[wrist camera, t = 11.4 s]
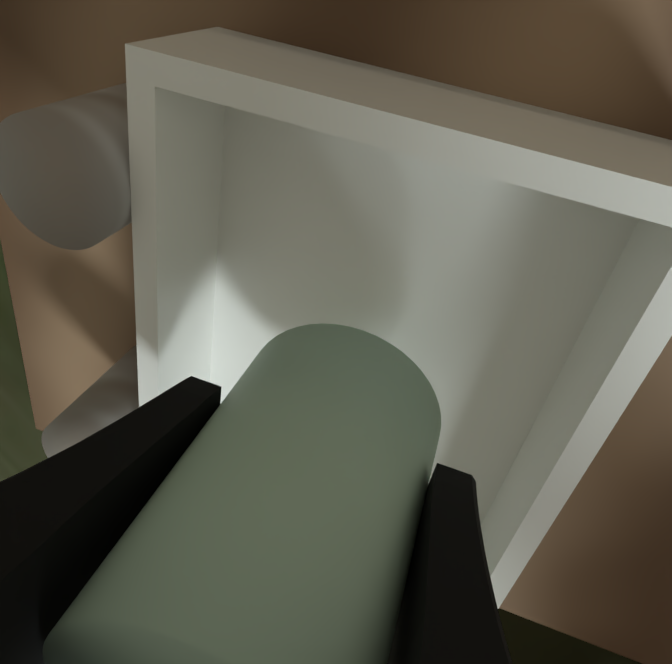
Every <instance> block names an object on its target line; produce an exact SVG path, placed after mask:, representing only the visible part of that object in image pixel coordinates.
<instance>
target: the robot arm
mask: <svg viewBox="0 0 672 664" xmlns="http://www.w3.org/2000/svg"><path fill="white" fill-rule="evenodd" d="M220 401H221V386H218V385H216V384H213V383H210V382H207V381H204V380H201V379H199V378H196V377H193V376H190V377H188V378H186V379H185V380H183V381H181V382H180V383H178V384H176V385H175V386H173V387H171V388H170V389H168V390H166V391H165V392H163V393H162V394H160V395H158V396H157V397H155V398H153V399H152V400H150V401H148V402H147V403H145V404H144V405H142V406H140V407H139V408H137V409H135V410H134V411H132V412H130V413H129V414H127V415H125V416H124V417H122V418H120V419H118V420H117V421H115V422H113V423H111V424H110V425H108V426H106V427H104V428H103V429H101V430H99V431H97V432H96V433H94V434H92V435H90V436H89V437H87V438H85V439H83V440H82V441H80V442H78V443H76V444H74V445H72V446H71V447H69V448H67V449H65V450H63V451H61V452H59V453H57V454H55V455H53V456H51V457H49V458H47V459H45V460H44V461H42V462H40V463H38V464H36V465H34V466H32V467H30V468H28V469H26V470H24V471H22V472H20V473H18V474H16V475H14V476H12V477H9V478H7V479H5V480H3V481H1V482H0V664H44V661H43V651H42V650H43V645H44V641H45V640H46V638H47V636H48V634H49V633H50V632H51V630H52V629H53V628H54V626H55V625H56V624H57V622H58V621H59V620H60V618H61V617H62V616H63V614H64V613H65V612H66V610H67V609H68V608H69V606H70V605H71V604H72V602H73V601H74V600H75V598H76V597H77V596H78V594H79V593H80V592H81V590H82V589H83V588H84V586H85V585H86V584H87V582H88V581H89V579H90V578H91V577H92V575H93V574H94V573H95V571H96V570H97V569H98V567H99V566H100V565H101V563H102V562H103V561H104V559H105V558H106V557H107V555H108V554H109V553H110V551H111V550H112V549H113V547H114V546H115V545H116V543H117V542H118V541H119V539H120V538H121V537H122V535H123V534H124V533H125V531H126V530H127V529H128V527H129V526H130V525H131V523H132V522H133V521H134V519H135V518H136V517H137V515H138V514H139V513H140V511H141V510H142V509H143V507H144V506H145V505H146V503H147V502H148V501H149V499H150V498H151V496H152V495H153V494H154V492H155V491H156V490H157V488H158V487H159V486H160V484H161V483H162V482H163V480H164V479H165V478H166V476H167V475H168V474H169V472H170V471H171V470H172V468H173V467H174V466H175V464H176V463H177V462H178V460H179V459H180V458H181V456H182V455H183V454H184V452H185V451H186V450H187V448H188V447H189V446H190V444H191V443H192V442H193V440H194V439H195V438H196V436H197V435H198V434H199V432H200V431H201V430H202V428H203V427H204V426H205V424H206V423H207V422H208V420H209V419H210V418H211V416H212V415H213V414H214V412H215V411H216V409H217V408H218V407H219V405H220ZM387 664H512V660H511V657H510V653H509V650H508V646H507V643H506V639H505V636H504V632H503V628H502V624H501V620H500V616H499V612H498V608H497V604H496V600H495V595H494V591H493V586H492V582H491V578H490V573H489V569H488V564H487V559H486V554H485V548H484V542H483V536H482V531H481V524H480V517H479V510H478V501H477V490H476V481H475V479H474V478H473V476H472V475H470V474H468V473H465V472H462V471H459V470H456V469H453V468H451V467H448V466H445V465H442V464H439V463H437V464H436V467H435V469H434V472H433V474H432V477H431V479H430V482H429V484H428V487H427V491H426V496H425V500H424V504H423V509H422V513H421V517H420V522H419V526H418V530H417V535H416V540H415V545H414V550H413V554H412V558H411V563H410V567H409V571H408V576H407V580H406V584H405V589H404V593H403V598H402V602H401V606H400V611H399V615H398V619H397V624H396V628H395V632H394V637H393V641H392V645H391V650H390V654H389V658H388V663H387Z"/></svg>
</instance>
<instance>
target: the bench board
mask: <svg viewBox="0 0 672 664" xmlns="http://www.w3.org/2000/svg"><path fill="white" fill-rule="evenodd" d="M213 27H221V28H225V29H229V30H233V31H237V32H241V33H245V34H249V35H253V36H257V37H261V38H265V39H269V40H273V41H277V42H281V43H285V44H289V45H293V46H297V47H301V48H305V49H309V50H313V51H317V52H321V53H325V54H329V55H333V56H337V57H341V58H345V59H349V60H353V61H357V62H361V63H365V64H369V65H373V66H377V67H381V68H385V69H389V70H393V71H397V72H401V73H405V74H409V75H413V76H417V77H421V78H425V79H429V80H433V81H437V82H441V83H445V84H449V85H453V86H457V87H461V88H465V89H469V90H473V91H477V92H481V93H485V94H489V95H493V96H497V97H501V98H505V99H509V100H513V101H517V102H521V103H525V104H529V105H533V106H537V107H541V108H545V109H549V110H553V111H557V112H561V113H565V114H569V115H573V116H577V117H581V118H585V119H589V120H593V121H597V122H601V123H605V124H609V125H613V126H617V127H621V128H625V129H629V130H633V131H637V132H641V133H645V134H649V135H653V136H657V137H661V138H665V139H669V140H672V0H0V239H1V244H2V250H3V255H4V260H5V266H6V271H7V276H8V282H9V287H10V292H11V298H12V303H13V308H14V314H15V319H16V324H17V330H18V335H19V340H20V346H21V351H22V356H23V362H24V367H25V372H26V378H27V383H28V388H29V394H30V399H31V404H32V410H33V415H34V420H35V426H36V429H39V430H41V431H43V433H42V445H43V449H44V451H45V453H46V455H47V457H48V458H49V457H51V456H53V455H55V454H57V453H59V452H61V451H63V450H65V449H67V448H69V447H71V446H72V445H74V444H76V443H78V442H80V441H82V440H83V439H85V438H87V437H89V436H90V435H92V434H94V433H96V432H97V431H99V430H101V429H103V428H104V427H106V426H108V425H110V424H111V423H113V422H115V421H117V420H118V419H120V418H122V417H124V416H125V415H127V414H129V413H130V412H132V411H134V410H135V409H137V408H139V395H138V369H137V343H136V318H135V292H134V266H133V240H132V215H131V189H130V163H129V137H128V112H127V86H126V60H125V44H126V43H131V42H136V41H142V40H147V39H153V38H158V37H164V36H169V35H175V34H180V33H186V32H191V31H197V30H202V29H208V28H213ZM499 608H500V609H503V610H505V611H508V612H511V613H513V614H516V615H518V616H521V617H523V618H526V619H529V620H531V621H534V622H536V623H539V624H542V625H544V626H547V627H549V628H552V629H554V630H557V631H560V632H562V633H565V634H567V635H570V636H572V637H575V638H578V639H580V640H583V641H585V642H588V643H591V644H593V645H596V646H598V647H601V648H603V649H606V650H609V651H611V652H614V653H616V654H619V655H621V656H624V657H627V658H629V659H632V660H634V661H637V662H640V663H642V664H672V336H671V338H670V339H669V341H668V342H667V344H666V346H665V347H664V349H663V350H662V352H661V354H660V355H659V357H658V358H657V360H656V361H655V363H654V365H653V366H652V368H651V369H650V371H649V372H648V374H647V376H646V377H645V379H644V380H643V382H642V383H641V385H640V387H639V388H638V390H637V391H636V393H635V394H634V396H633V398H632V399H631V401H630V402H629V404H628V405H627V407H626V409H625V410H624V412H623V413H622V415H621V416H620V418H619V420H618V421H617V423H616V424H615V426H614V427H613V429H612V431H611V432H610V434H609V435H608V437H607V439H606V440H605V442H604V443H603V445H602V446H601V448H600V450H599V451H598V453H597V454H596V456H595V457H594V459H593V461H592V462H591V464H590V465H589V467H588V468H587V470H586V472H585V473H584V475H583V476H582V478H581V479H580V481H579V483H578V484H577V486H576V487H575V489H574V490H573V492H572V494H571V495H570V497H569V498H568V500H567V501H566V503H565V505H564V506H563V508H562V509H561V511H560V513H559V514H558V516H557V517H556V519H555V520H554V522H553V524H552V525H551V527H550V528H549V530H548V531H547V533H546V535H545V536H544V538H543V539H542V541H541V542H540V544H539V546H538V547H537V549H536V550H535V552H534V553H533V555H532V557H531V558H530V560H529V561H528V563H527V564H526V566H525V568H524V569H523V571H522V572H521V574H520V575H519V577H518V579H517V580H516V582H515V583H514V585H513V586H512V588H511V590H510V591H509V593H508V594H507V596H506V598H505V599H504V601H503V602H502V604H501V605H500V607H499Z"/></svg>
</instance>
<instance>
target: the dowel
mask: <svg viewBox="0 0 672 664" xmlns="http://www.w3.org/2000/svg"><path fill="white" fill-rule="evenodd" d="M440 431H441V412H440V407H439V403H438V400H437V397H436V394H435V392H434V390H433V388H432V386H431V384H430V382H429V381H428V379H427V378H426V376H425V375H424V374H423V372H422V371H421V370H420V368H419V367H418V366H417V365H416V364H415V363H414V362H413V361H412V360H411V359H410V358H409V357H408V356H407V355H405V354H404V353H403V352H402V351H401V350H399V349H398V348H396V347H395V346H393V345H392V344H390V343H389V342H387V341H385V340H383V339H381V338H380V337H378V336H376V335H373V334H371V333H368V332H366V331H363V330H360V329H357V328H353V327H350V326H344V325H338V324H325V323H320V324H308V325H303V326H298V327H295V328H292V329H289V330H286V331H285V332H283V333H281V334H279V335H277V336H276V337H274V338H273V339H272V340H270V341H269V342H268V343H267V344H266V345H265V346H264V347H263V348H262V349H261V351H260V352H259V353H258V355H257V356H256V357H255V359H254V360H253V361H252V363H251V364H250V365H249V367H248V368H247V369H246V371H245V372H244V373H243V375H242V376H241V377H240V379H239V380H238V381H237V383H236V384H235V385H234V387H233V388H232V389H231V391H230V392H229V393H228V395H227V396H226V397H225V399H224V400H223V401H222V403H221V404H220V405H219V407H218V408H217V409H216V411H215V412H214V414H213V415H212V416H211V418H210V419H209V420H208V422H207V423H206V424H205V426H204V427H203V428H202V430H201V431H200V432H199V434H198V435H197V436H196V438H195V439H194V440H193V442H192V443H191V444H190V446H189V447H188V448H187V450H186V451H185V452H184V454H183V455H182V456H181V458H180V459H179V460H178V462H177V463H176V464H175V466H174V467H173V468H172V470H171V471H170V472H169V474H168V475H167V476H166V478H165V479H164V480H163V482H162V483H161V484H160V486H159V487H158V488H157V490H156V491H155V492H154V494H153V495H152V496H151V498H150V499H149V501H148V502H147V503H146V505H145V506H144V507H143V509H142V510H141V511H140V513H139V514H138V515H137V517H136V518H135V519H134V521H133V522H132V523H131V525H130V526H129V527H128V529H127V530H126V531H125V533H124V534H123V535H122V537H121V538H120V539H119V541H118V542H117V543H116V545H115V546H114V547H113V549H112V550H111V551H110V553H109V554H108V555H107V557H106V558H105V559H104V561H103V562H102V563H101V565H100V566H99V567H98V569H97V570H96V571H95V573H94V574H93V575H92V577H91V578H90V579H89V581H88V582H87V584H86V585H85V586H84V588H83V589H82V590H81V592H80V593H79V594H78V596H77V597H76V598H75V600H74V601H73V602H72V604H71V605H70V606H69V608H68V609H67V610H66V612H65V613H64V614H63V616H62V617H61V618H60V620H59V621H58V622H57V624H56V625H55V626H54V628H53V629H52V630H51V632H50V633H49V634H48V636H47V638H46V640H45V641H44V645H43V650H42V651H43V661H44V664H387V663H388V658H389V654H390V650H391V645H392V641H393V637H394V632H395V628H396V624H397V619H398V615H399V611H400V606H401V602H402V598H403V593H404V589H405V584H406V580H407V576H408V571H409V567H410V563H411V558H412V554H413V550H414V545H415V540H416V535H417V530H418V526H419V522H420V517H421V513H422V509H423V504H424V500H425V496H426V491H427V487H428V484H429V480H430V476H431V472H432V467H433V463H434V459H435V454H436V450H437V445H438V441H439V437H440Z"/></svg>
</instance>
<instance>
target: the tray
mask: <svg viewBox="0 0 672 664" xmlns="http://www.w3.org/2000/svg"><path fill="white" fill-rule="evenodd" d="M125 60H126V86H127V112H128V137H129V163H130V189H131V215H132V240H133V266H134V292H135V318H136V343H137V369H138V395H139V407H140V406H142V405H144V404H145V403H147V402H148V401H150V400H152V399H153V398H155V397H157V396H158V395H160V394H162V393H163V392H165V391H166V390H168V389H170V388H171V387H173V386H175V385H176V384H178V383H180V382H181V381H183V380H185V379H186V378H188V377H190V376H193V377H196V378H199V379H201V380H204V381H207V382H210V383H213V384H216V385H218V386H221V401H220V404H221V403H222V401H223V400H224V399H225V397H226V396H227V395H228V393H229V392H230V391H231V389H232V388H233V387H234V385H235V384H236V383H237V381H238V380H239V379H240V377H241V376H242V375H243V373H244V372H245V371H246V369H247V368H248V367H249V365H250V364H251V363H252V361H253V360H254V359H255V357H256V356H257V355H258V353H259V352H260V351H261V349H262V348H263V347H264V346H265V345H266V344H267V343H268V342H269V341H270V340H272V339H273V338H274V337H276V336H277V335H279V334H281V333H283V332H285V331H286V330H289V329H292V328H295V327H298V326H303V325H308V324H320V323H325V324H338V325H344V326H350V327H353V328H357V329H360V330H363V331H366V332H368V333H371V334H373V335H376V336H378V337H380V338H381V339H383V340H385V341H387V342H389V343H390V344H392V345H393V346H395V347H396V348H398V349H399V350H401V351H402V352H403V353H404V354H405V355H407V356H408V357H409V358H410V359H411V360H412V361H413V362H414V363H415V364H416V365H417V366H418V367H419V368H420V370H421V371H422V372H423V374H424V375H425V376H426V378H427V379H428V381H429V382H430V384H431V386H432V388H433V390H434V392H435V394H436V397H437V400H438V403H439V407H440V412H441V431H440V437H439V441H438V445H437V450H436V454H435V459H434V463H433V467H432V472H431V476H430V479H431V477H432V474H433V472H434V469H435V467H436V464H437V463H439V464H442V465H445V466H448V467H451V468H453V469H456V470H459V471H462V472H465V473H468V474H470V475H472V476H473V478H474V479H475V481H476V490H477V501H478V510H479V517H480V524H481V531H482V536H483V542H484V548H485V554H486V559H487V564H488V569H489V573H490V578H491V582H492V586H493V591H494V595H495V600H496V604H497V608H498V609H499V607H500V605H501V604H502V602H503V601H504V599H505V598H506V596H507V594H508V593H509V591H510V590H511V588H512V586H513V585H514V583H515V582H516V580H517V579H518V577H519V575H520V574H521V572H522V571H523V569H524V568H525V566H526V564H527V563H528V561H529V560H530V558H531V557H532V555H533V553H534V552H535V550H536V549H537V547H538V546H539V544H540V542H541V541H542V539H543V538H544V536H545V535H546V533H547V531H548V530H549V528H550V527H551V525H552V524H553V522H554V520H555V519H556V517H557V516H558V514H559V513H560V511H561V509H562V508H563V506H564V505H565V503H566V501H567V500H568V498H569V497H570V495H571V494H572V492H573V490H574V489H575V487H576V486H577V484H578V483H579V481H580V479H581V478H582V476H583V475H584V473H585V472H586V470H587V468H588V467H589V465H590V464H591V462H592V461H593V459H594V457H595V456H596V454H597V453H598V451H599V450H600V448H601V446H602V445H603V443H604V442H605V440H606V439H607V437H608V435H609V434H610V432H611V431H612V429H613V427H614V426H615V424H616V423H617V421H618V420H619V418H620V416H621V415H622V413H623V412H624V410H625V409H626V407H627V405H628V404H629V402H630V401H631V399H632V398H633V396H634V394H635V393H636V391H637V390H638V388H639V387H640V385H641V383H642V382H643V380H644V379H645V377H646V376H647V374H648V372H649V371H650V369H651V368H652V366H653V365H654V363H655V361H656V360H657V358H658V357H659V355H660V354H661V352H662V350H663V349H664V347H665V346H666V344H667V342H668V341H669V339H670V338H671V336H672V140H669V139H665V138H661V137H657V136H653V135H649V134H645V133H641V132H637V131H633V130H629V129H625V128H621V127H617V126H613V125H609V124H605V123H601V122H597V121H593V120H589V119H585V118H581V117H577V116H573V115H569V114H565V113H561V112H557V111H553V110H549V109H545V108H541V107H537V106H533V105H529V104H525V103H521V102H517V101H513V100H509V99H505V98H501V97H497V96H493V95H489V94H485V93H481V92H477V91H473V90H469V89H465V88H461V87H457V86H453V85H449V84H445V83H441V82H437V81H433V80H429V79H425V78H421V77H417V76H413V75H409V74H405V73H401V72H397V71H393V70H389V69H385V68H381V67H377V66H373V65H369V64H365V63H361V62H357V61H353V60H349V59H345V58H341V57H337V56H333V55H329V54H325V53H321V52H317V51H313V50H309V49H305V48H301V47H297V46H293V45H289V44H285V43H281V42H277V41H273V40H269V39H265V38H261V37H257V36H253V35H249V34H245V33H241V32H237V31H233V30H229V29H225V28H221V27H213V28H208V29H202V30H197V31H191V32H186V33H180V34H175V35H169V36H164V37H158V38H153V39H147V40H142V41H136V42H131V43H126V44H125ZM429 482H430V480H429Z"/></svg>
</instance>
